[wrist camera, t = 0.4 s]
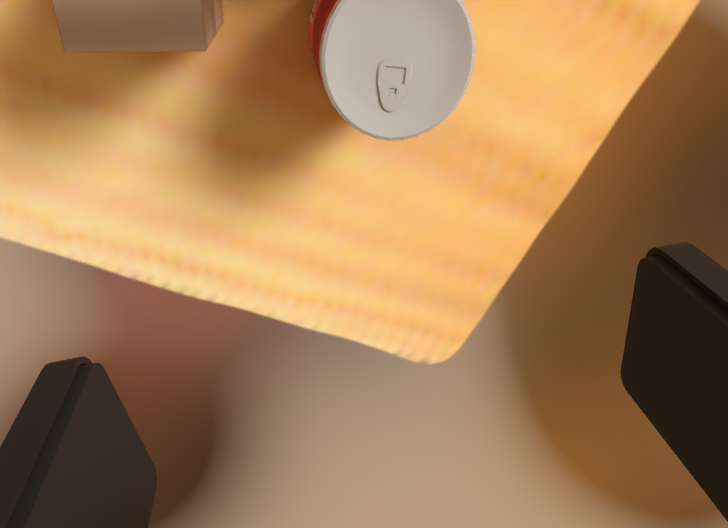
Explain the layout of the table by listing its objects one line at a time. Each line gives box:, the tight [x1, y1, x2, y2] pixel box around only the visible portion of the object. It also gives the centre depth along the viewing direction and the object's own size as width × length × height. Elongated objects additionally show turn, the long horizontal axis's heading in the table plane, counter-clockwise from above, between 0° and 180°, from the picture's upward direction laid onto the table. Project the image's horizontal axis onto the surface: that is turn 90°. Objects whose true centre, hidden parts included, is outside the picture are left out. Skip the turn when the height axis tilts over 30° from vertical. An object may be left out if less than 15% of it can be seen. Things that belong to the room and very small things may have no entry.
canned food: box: [309, 0, 475, 140], centre depth 31 cm, size 8×8×11 cm
